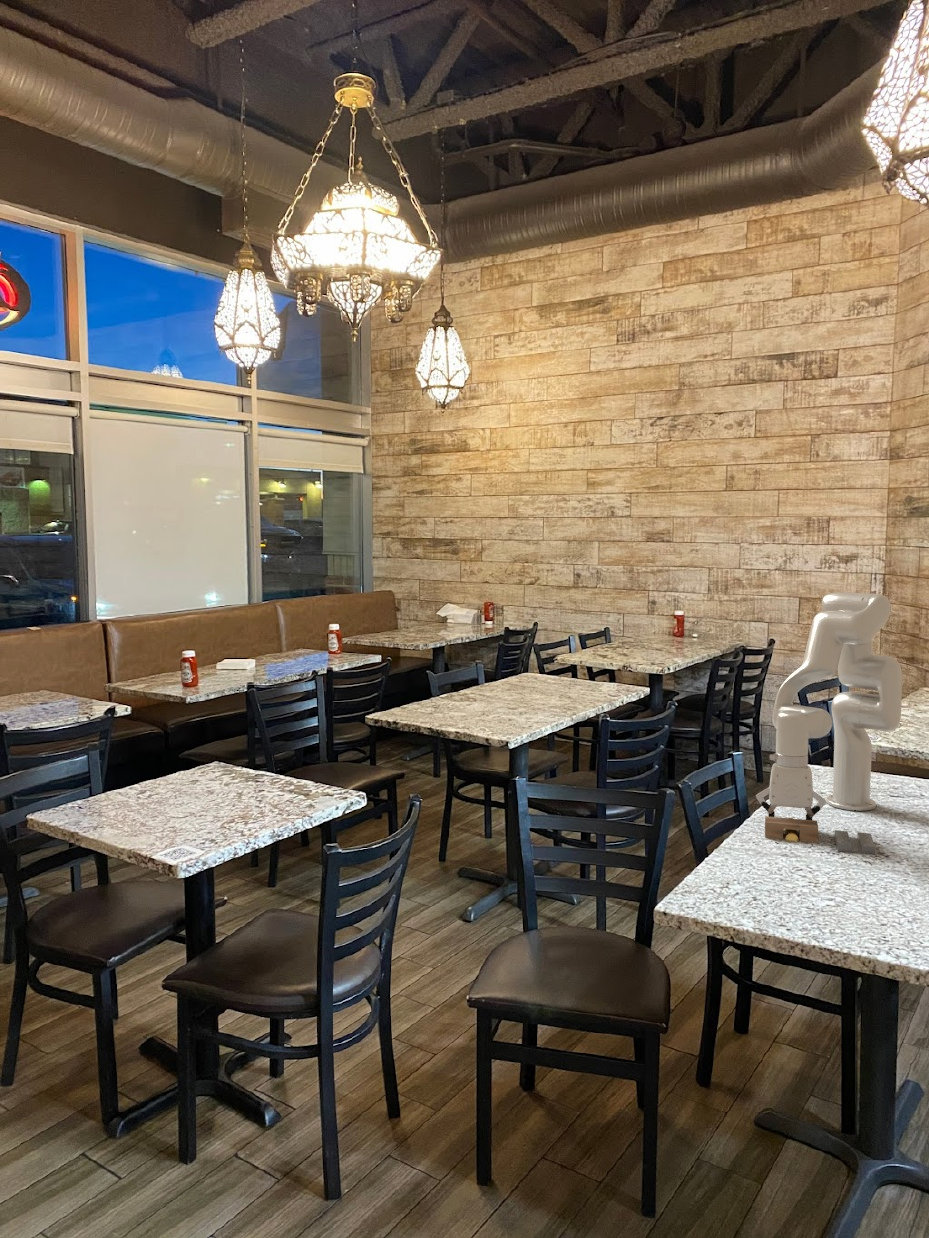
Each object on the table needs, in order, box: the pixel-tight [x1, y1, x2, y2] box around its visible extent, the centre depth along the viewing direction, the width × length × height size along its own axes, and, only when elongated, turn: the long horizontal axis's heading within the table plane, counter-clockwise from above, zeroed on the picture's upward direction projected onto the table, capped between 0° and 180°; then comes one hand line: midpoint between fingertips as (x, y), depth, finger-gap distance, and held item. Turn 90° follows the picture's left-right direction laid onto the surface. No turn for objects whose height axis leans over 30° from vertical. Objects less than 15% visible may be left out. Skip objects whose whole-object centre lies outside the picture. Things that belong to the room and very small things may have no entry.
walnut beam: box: [764, 815, 819, 843], centre depth 214 cm, size 5×12×5 cm, turn 72°
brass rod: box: [784, 817, 800, 843], centre depth 218 cm, size 14×3×3 cm, turn 161°
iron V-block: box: [833, 829, 877, 856], centre depth 207 cm, size 10×8×3 cm
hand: (789, 828), depth 220 cm, fingers open, 7 cm apart
